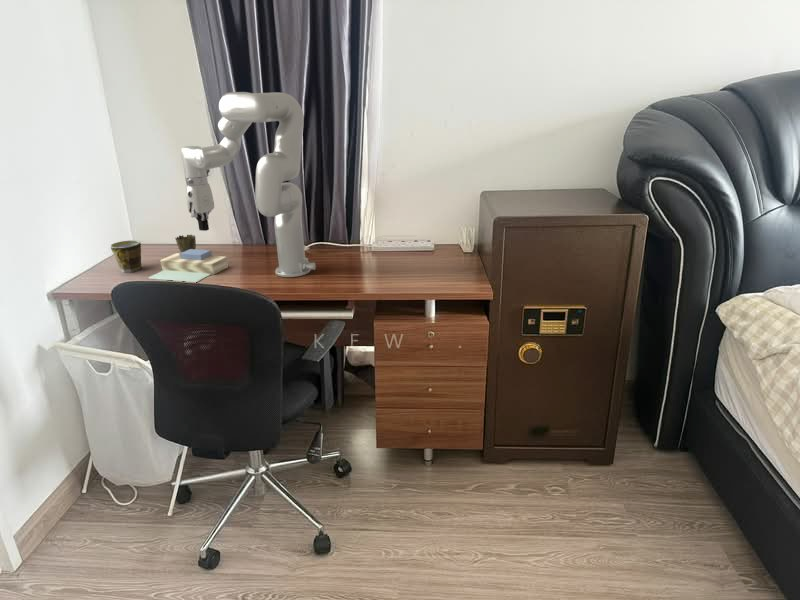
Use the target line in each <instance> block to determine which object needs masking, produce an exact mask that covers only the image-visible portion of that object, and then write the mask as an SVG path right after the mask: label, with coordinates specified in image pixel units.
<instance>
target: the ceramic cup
mask: <svg viewBox="0 0 800 600" xmlns="http://www.w3.org/2000/svg"><path fill="white" fill-rule="evenodd" d="M109 246H110V251H111V252H112V255H113V256H114V258H115V261H116V263H117V264H118V265H117V266H118V267H119V270H120V271H121V272H122V273H133V272H134V273H135V272H138V271H140V269H142V245H141V241H140V240H136V239H135V240H134V239H132V240H131V239H130V240H121V241H117V242H114V243H112V244H110V245H109Z"/></svg>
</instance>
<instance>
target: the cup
mask: <svg viewBox="0 0 800 600" xmlns="http://www.w3.org/2000/svg"><path fill="white" fill-rule="evenodd" d="M174 238H175V241H176V245H177V247H178V250H179V251H180V253H182V252H185V251H187V250H189V249H196V248H197V247H196V246H197V244H196V243H197V242H196V235H195V234H194V235H193V234H192V233H191V234H187V235H186V236H184V235H178V236H176V237H174Z"/></svg>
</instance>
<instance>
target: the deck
mask: <svg viewBox="0 0 800 600" xmlns="http://www.w3.org/2000/svg"><path fill="white" fill-rule="evenodd" d="M180 253H181V252H179V253H177V252H176V253H173V254H171V255H169V256H167V257H164V258H162V259H160V266H161V271H163V270H171V271H183V272H196V273H208V274H211V275H213V276H214V275H216V274H218V273H220V272H221V271H223V270H225V269H227V268H228V267H229V266H228V259H227V256H222V255H221V256H220V255H211V256H210V257H208V258H205V259H203V260H189V259H181V258H180ZM211 275H210V276H211Z"/></svg>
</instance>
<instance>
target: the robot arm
mask: <svg viewBox="0 0 800 600" xmlns="http://www.w3.org/2000/svg"><path fill="white" fill-rule="evenodd" d="M218 111H219V114H220V116H221V118H220V119H219V120H218V122H217V127H218V131H219V132H220V134H221V135H223V136H224V137H223V139H221V141H220V142H219V144H218V145H217V144H216V145H209V146H204V147H201V146H199V145H188V146H183V147H181V150H180V151H181V152H180V153H181V154H180V155H181V160H182V165H183V172H184V178H185V184H186V185H185V186H186V189H185V190H186V191H185V192H186V194H185V195H186V205H187V209H188V212H189V213H190V214H191V215H190V216H191V218H195V220H197V224H198V230H199V231H203V232H207V231H209V230H210V228H209V227H210V226H209V215H210V213H212V211H213V210H214V209H215V200H214V196H213V191H212V189H211V185H210V183H209V180H208V175H207V170H212V169H216V168H220V167H225V166H227V165H229V164H230V163H231V162H232V161H233V160H234V159H235V158H236V156H237V155H238V154H239V152H240V150H241V147H242V139H241V138H242V137H243V136H244V134H245V133H246V131H247V130H249V127H250V126H251V125H252V123H270V122H279V124H278V127H277V129H276V131H275V136H274V148H273V152H271V153H266V154H264V155H263V156H261V157H260V158H259V160H258V162H257V164H256V168H255V190H254V191H255V194H254V195H255V196H254V197H255V206H256V209H257V210H258V212H259V213H260V214H261V215H263V216H264V217H269V218H271V217H273V218H274V219H273V220H274V221H273V222H274V224H273V225H274V226H273V227H274V235H275V243H276V253H277V259H278V260H277V261H278V266H277V267H276V268H275V269H274V270H275V271H274V273H275V275H276V276H279V277H282V278H295V277H301V276H305V275H307V274H310V273H311V271H312V270H314V271H315V270H316V268H317V266H316V263H315V262H309V258H308V257H306V249H305V241H304V229H303V218H302V217H303V216H302V214H303V213H302V211H303V209H302V208H303V193H302V191H301V190H300V188H299V186H297V185H296V184H294V183H292V182H289V181H291V180H293V179H295V178H296V177H298V176H299V174H300V170H301V159H302V137H303V131H304V113H303V108H302V107H301V105H300V103H299V101H298V100H297V99H295V97H294V96H292V95H291V94H288V93H286V92H278V91H277V92H274V91H273V92H254V93H253V92H247V91H231V92H226V93H225V94H223V95H222V96H221V98H220V99H219V102H218ZM287 181H288V182H287Z"/></svg>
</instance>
